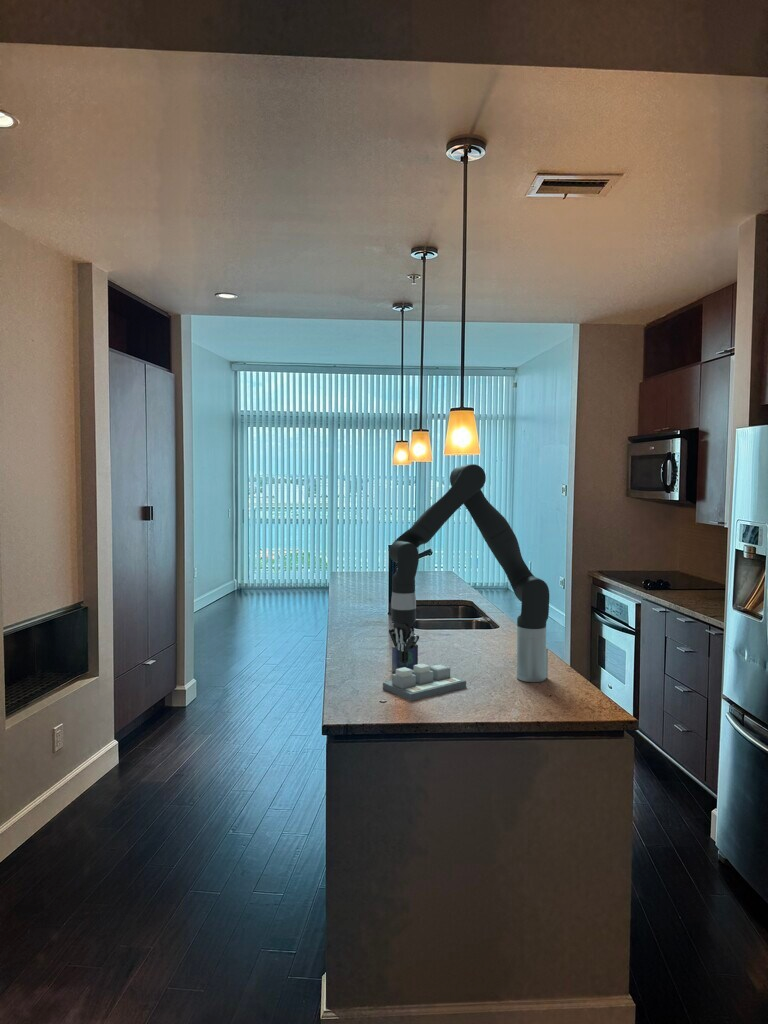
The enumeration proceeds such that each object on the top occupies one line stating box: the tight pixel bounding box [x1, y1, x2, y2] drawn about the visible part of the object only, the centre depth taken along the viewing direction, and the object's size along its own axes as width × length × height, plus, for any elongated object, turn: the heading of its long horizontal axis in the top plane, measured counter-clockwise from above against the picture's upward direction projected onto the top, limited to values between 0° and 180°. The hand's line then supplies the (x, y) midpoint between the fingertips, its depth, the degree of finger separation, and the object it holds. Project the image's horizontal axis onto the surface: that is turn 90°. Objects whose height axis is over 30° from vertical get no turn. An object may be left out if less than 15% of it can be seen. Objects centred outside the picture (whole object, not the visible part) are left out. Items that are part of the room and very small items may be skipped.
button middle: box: [414, 663, 431, 674], centre depth 210 cm, size 4×4×3 cm
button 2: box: [430, 664, 448, 670], centre depth 214 cm, size 4×4×3 cm
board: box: [382, 663, 467, 702], centre depth 209 cm, size 22×14×5 cm, turn 126°
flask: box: [391, 643, 419, 674], centre depth 227 cm, size 9×3×11 cm, turn 109°
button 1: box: [395, 667, 412, 678], centre depth 206 cm, size 4×4×3 cm
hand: (403, 662), depth 206 cm, fingers closed
